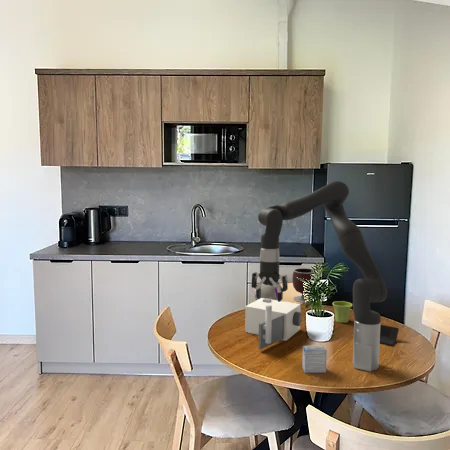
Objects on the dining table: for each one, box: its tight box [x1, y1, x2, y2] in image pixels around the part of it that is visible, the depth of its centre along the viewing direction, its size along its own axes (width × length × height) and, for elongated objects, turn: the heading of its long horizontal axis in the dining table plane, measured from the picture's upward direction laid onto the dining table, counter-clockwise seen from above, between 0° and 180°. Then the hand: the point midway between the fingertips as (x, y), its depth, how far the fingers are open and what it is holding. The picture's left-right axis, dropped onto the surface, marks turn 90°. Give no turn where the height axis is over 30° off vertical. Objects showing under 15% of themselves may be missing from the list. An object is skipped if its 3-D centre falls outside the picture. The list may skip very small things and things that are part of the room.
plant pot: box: [332, 300, 353, 324], centre depth 210 cm, size 9×9×9 cm
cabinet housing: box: [244, 298, 303, 342], centre depth 196 cm, size 16×22×13 cm
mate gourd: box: [292, 267, 314, 304], centre depth 245 cm, size 16×14×20 cm
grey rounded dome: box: [254, 284, 278, 301], centre depth 225 cm, size 13×13×15 cm
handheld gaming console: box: [380, 324, 400, 347], centre depth 186 cm, size 12×7×10 cm
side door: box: [258, 305, 284, 351], centre depth 177 cm, size 5×16×18 cm, turn 137°
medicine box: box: [301, 345, 328, 374], centre depth 157 cm, size 8×4×9 cm, turn 92°
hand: (269, 300), depth 170 cm, fingers open, 8 cm apart
